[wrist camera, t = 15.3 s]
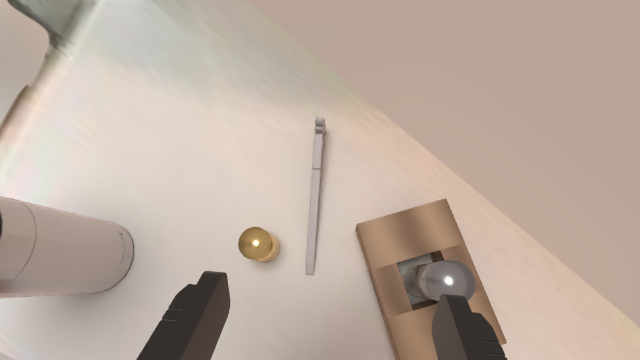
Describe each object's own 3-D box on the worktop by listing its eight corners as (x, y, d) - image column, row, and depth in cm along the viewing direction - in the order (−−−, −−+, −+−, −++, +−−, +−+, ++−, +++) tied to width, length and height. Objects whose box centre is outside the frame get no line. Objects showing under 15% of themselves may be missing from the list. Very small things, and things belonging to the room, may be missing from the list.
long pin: (408, 299, 38) (441, 309, 26) (398, 270, 39) (425, 266, 27) (436, 291, 38) (482, 297, 26) (426, 262, 39) (464, 254, 27)
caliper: (318, 131, 46) (315, 108, 40) (325, 131, 46) (323, 109, 40) (306, 274, 40) (300, 273, 34) (314, 275, 40) (309, 274, 34)
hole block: (397, 362, 36) (404, 373, 32) (355, 229, 41) (357, 224, 37) (487, 335, 36) (506, 343, 32) (435, 206, 41) (446, 198, 37)
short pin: (255, 265, 41) (241, 262, 35) (250, 238, 42) (235, 231, 36) (282, 257, 41) (272, 254, 35) (276, 230, 42) (266, 223, 36)
